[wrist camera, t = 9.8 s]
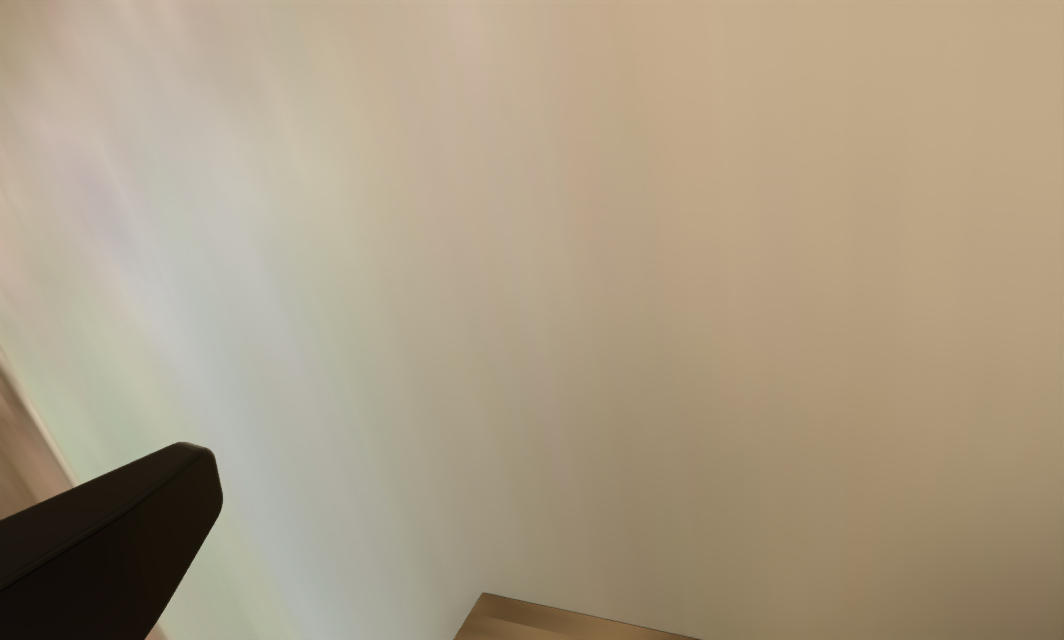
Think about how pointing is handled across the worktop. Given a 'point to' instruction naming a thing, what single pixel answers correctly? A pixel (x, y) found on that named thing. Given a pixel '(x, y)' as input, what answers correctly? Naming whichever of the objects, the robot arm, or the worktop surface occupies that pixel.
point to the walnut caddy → (545, 624)
